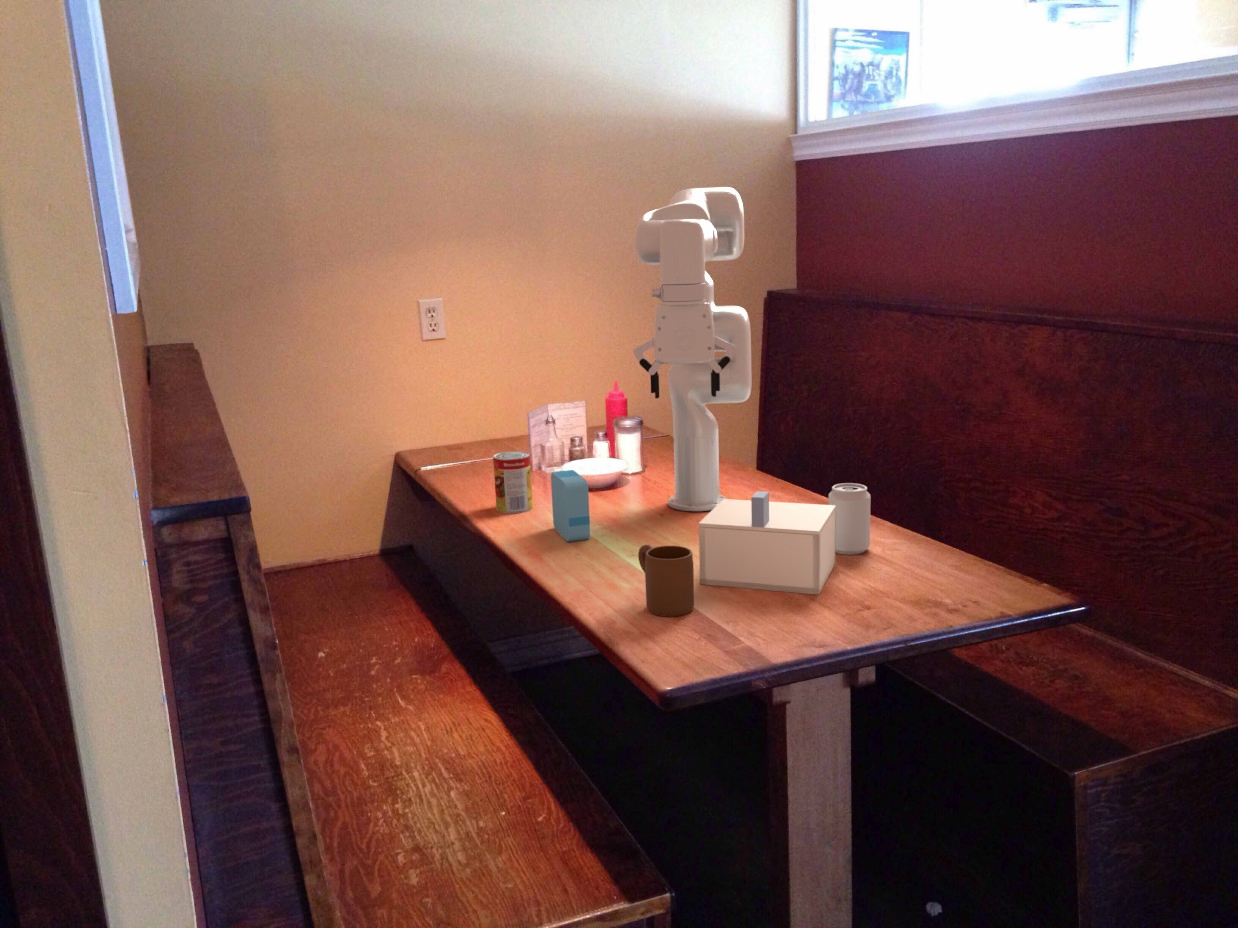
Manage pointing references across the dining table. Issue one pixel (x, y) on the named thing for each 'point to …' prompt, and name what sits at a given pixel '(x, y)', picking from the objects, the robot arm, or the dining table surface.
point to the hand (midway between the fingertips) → (685, 396)
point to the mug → (668, 579)
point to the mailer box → (767, 558)
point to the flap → (768, 515)
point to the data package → (570, 505)
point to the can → (851, 517)
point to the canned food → (513, 482)
